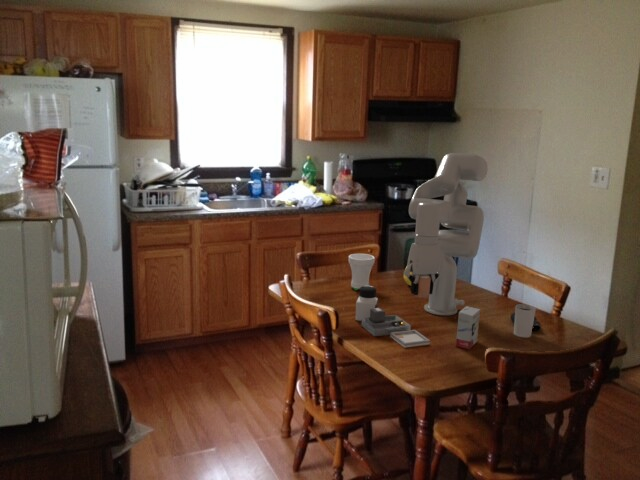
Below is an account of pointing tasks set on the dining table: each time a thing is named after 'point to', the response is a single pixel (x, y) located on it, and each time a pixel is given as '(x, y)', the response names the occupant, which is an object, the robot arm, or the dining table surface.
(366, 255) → the cup
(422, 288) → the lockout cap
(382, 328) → the breaker panel
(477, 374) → the dining table surface
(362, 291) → the medicine bottle
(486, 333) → the dining table surface
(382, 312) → the toggle
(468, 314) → the ink box
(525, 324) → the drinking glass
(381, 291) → the dining table surface
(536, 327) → the electronic device
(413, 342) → the pad
